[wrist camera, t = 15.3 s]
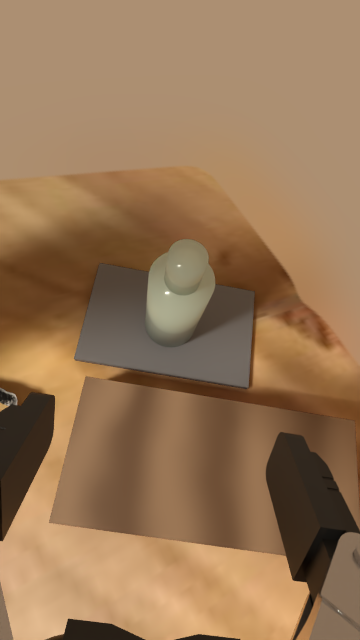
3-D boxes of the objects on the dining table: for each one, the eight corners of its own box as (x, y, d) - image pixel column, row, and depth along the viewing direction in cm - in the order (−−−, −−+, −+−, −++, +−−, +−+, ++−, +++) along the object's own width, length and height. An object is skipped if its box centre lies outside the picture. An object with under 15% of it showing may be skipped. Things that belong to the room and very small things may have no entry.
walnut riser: (61, 513, 26) (48, 522, 23) (91, 385, 30) (85, 376, 26) (332, 551, 28) (362, 566, 24) (329, 424, 31) (354, 420, 28)
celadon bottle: (140, 342, 31) (143, 282, 20) (150, 296, 33) (157, 218, 22) (191, 351, 32) (221, 297, 21) (197, 305, 34) (228, 232, 22)
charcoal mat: (75, 360, 31) (73, 358, 30) (100, 265, 35) (99, 262, 34) (246, 388, 32) (248, 387, 31) (252, 293, 35) (254, 291, 35)
